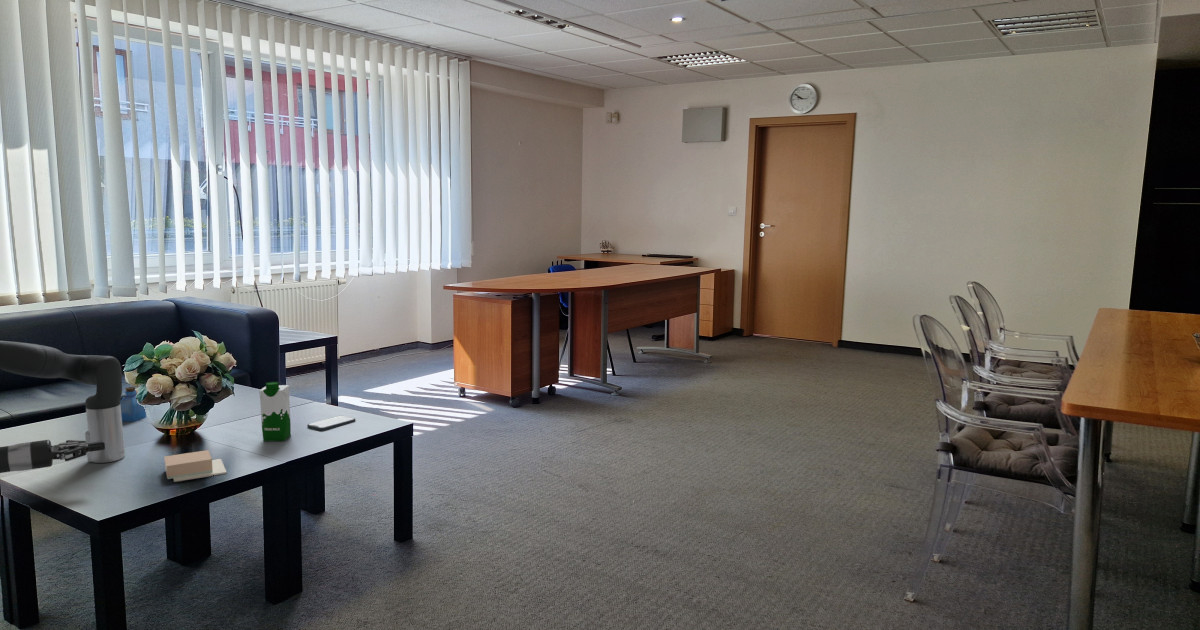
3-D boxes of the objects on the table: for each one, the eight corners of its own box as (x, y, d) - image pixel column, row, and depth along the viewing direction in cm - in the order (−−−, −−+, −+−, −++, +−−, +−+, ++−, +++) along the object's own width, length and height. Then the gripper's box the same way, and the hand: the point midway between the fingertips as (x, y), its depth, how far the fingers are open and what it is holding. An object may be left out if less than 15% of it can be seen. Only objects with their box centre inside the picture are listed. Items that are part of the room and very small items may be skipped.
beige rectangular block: (166, 466, 228) (211, 459, 235) (164, 456, 237) (208, 450, 243) (167, 479, 229) (212, 471, 235) (165, 469, 237) (209, 462, 244)
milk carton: (259, 442, 266) (256, 384, 263) (268, 434, 275) (265, 378, 272) (286, 441, 266) (283, 384, 263) (294, 434, 275) (291, 378, 272)
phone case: (341, 419, 297) (305, 428, 283) (341, 415, 297) (305, 424, 283) (357, 422, 292) (321, 432, 279) (357, 418, 292) (321, 428, 278)
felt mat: (174, 481, 228) (173, 480, 228) (170, 468, 240) (170, 466, 240) (226, 473, 236) (226, 471, 235) (220, 460, 247) (220, 458, 247)
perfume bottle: (146, 417, 295) (143, 386, 293) (134, 421, 289) (131, 390, 287) (131, 416, 296) (128, 385, 294) (119, 421, 290) (116, 389, 288)
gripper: (26, 449, 209) (103, 438, 218) (30, 436, 220) (103, 426, 229) (30, 476, 210) (106, 464, 219) (33, 461, 221) (106, 451, 230)
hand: (104, 445), depth 224 cm, fingers closed
